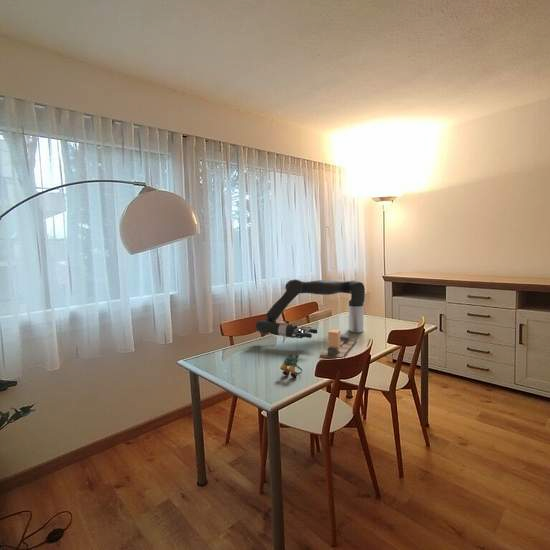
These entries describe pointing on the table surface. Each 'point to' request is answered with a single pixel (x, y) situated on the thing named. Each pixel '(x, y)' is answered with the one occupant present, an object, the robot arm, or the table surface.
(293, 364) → the green yellow plastic figure
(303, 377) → the table surface
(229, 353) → the table surface
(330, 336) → the tan wooden tall block
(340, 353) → the track
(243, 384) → the table surface
